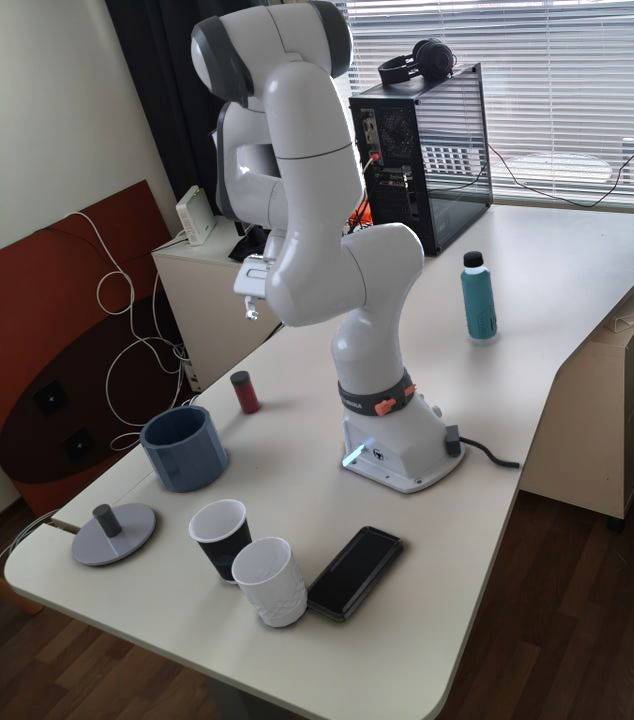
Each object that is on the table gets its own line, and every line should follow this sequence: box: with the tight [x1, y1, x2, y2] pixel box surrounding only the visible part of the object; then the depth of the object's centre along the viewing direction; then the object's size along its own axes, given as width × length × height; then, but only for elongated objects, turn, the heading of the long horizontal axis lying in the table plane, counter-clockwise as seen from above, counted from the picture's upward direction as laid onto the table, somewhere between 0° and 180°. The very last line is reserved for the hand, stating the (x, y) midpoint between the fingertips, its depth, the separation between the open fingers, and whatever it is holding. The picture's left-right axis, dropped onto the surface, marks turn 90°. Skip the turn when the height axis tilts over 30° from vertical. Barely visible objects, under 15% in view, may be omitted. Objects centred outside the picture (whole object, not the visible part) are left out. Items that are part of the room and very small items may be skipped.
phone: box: [306, 525, 405, 623], centre depth 100 cm, size 8×1×15 cm
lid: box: [71, 502, 157, 566], centre depth 110 cm, size 13×13×6 cm
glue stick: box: [229, 370, 261, 415], centre depth 136 cm, size 4×4×8 cm
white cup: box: [232, 536, 308, 628], centre depth 94 cm, size 8×8×10 cm
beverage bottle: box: [459, 250, 498, 341], centre depth 145 cm, size 6×7×20 cm
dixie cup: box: [188, 499, 253, 585], centre depth 100 cm, size 8×8×11 cm
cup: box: [139, 404, 228, 493], centre depth 121 cm, size 12×12×10 cm
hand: (268, 323), depth 139 cm, fingers open, 8 cm apart
